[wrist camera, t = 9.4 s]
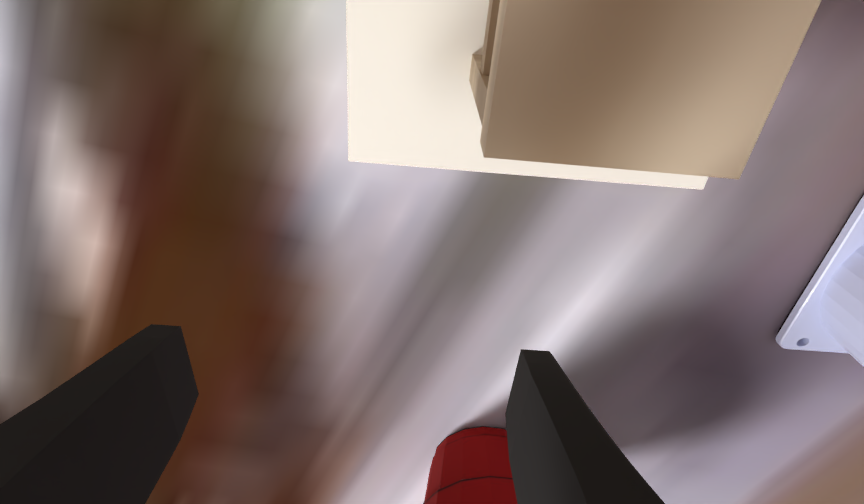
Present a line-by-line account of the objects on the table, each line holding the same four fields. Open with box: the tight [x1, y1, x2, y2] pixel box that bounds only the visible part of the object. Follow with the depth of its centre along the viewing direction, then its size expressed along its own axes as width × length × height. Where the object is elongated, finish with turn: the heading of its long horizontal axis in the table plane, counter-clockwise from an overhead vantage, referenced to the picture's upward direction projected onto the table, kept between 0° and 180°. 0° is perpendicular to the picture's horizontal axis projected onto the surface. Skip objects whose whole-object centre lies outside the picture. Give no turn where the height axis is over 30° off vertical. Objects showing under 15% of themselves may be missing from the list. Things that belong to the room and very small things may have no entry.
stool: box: [469, 0, 821, 179], centre depth 11 cm, size 5×5×7 cm
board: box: [346, 0, 708, 190], centre depth 14 cm, size 13×11×1 cm
